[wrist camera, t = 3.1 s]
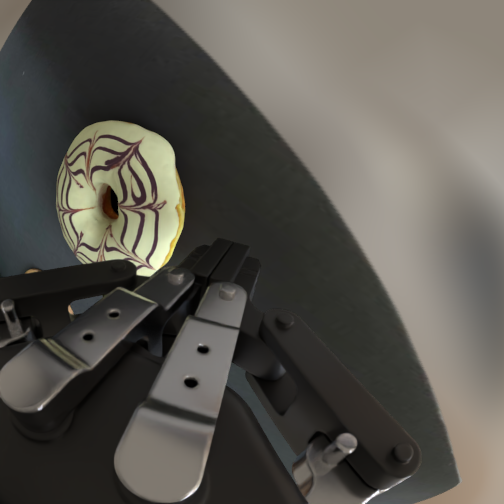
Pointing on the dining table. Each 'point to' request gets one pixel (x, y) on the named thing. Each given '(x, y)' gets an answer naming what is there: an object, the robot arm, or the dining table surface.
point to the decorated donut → (120, 196)
